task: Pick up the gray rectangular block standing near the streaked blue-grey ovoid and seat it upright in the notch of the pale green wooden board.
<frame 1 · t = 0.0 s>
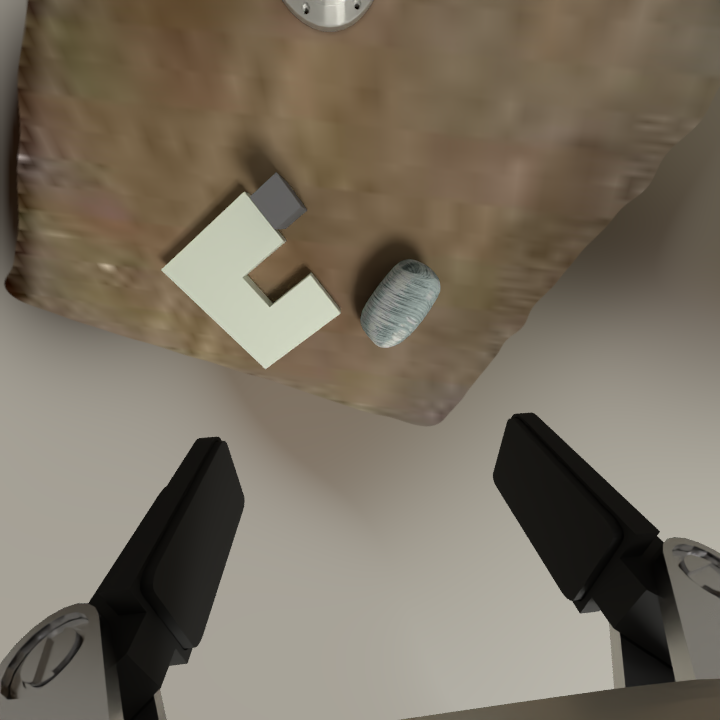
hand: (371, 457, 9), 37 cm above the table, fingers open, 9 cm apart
board: (260, 289, 42), on the table
gray rectangular block: (286, 206, 38), on the table
streaked blue-grey ovoid: (393, 298, 45), on the table
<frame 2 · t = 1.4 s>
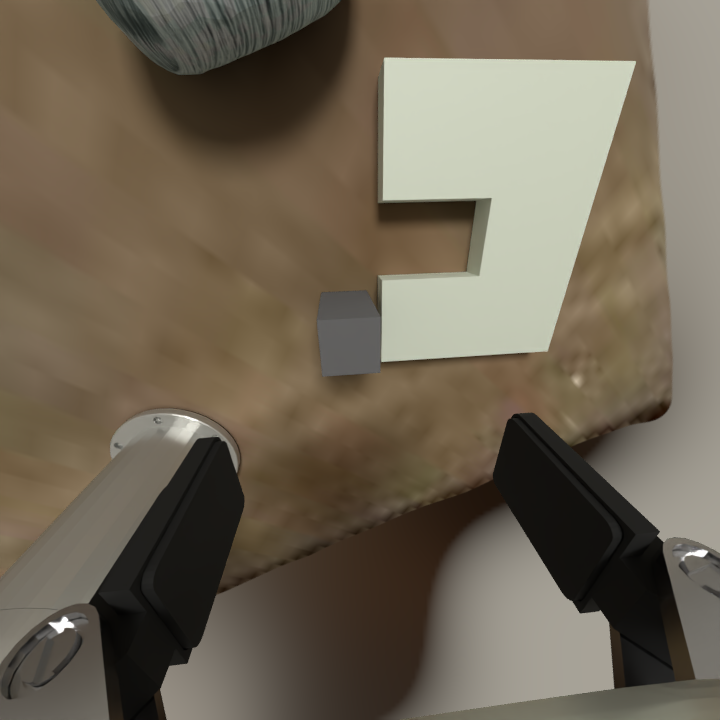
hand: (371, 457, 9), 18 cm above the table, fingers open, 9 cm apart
board: (471, 238, 23), on the table
gray rectangular block: (345, 313, 25), on the table
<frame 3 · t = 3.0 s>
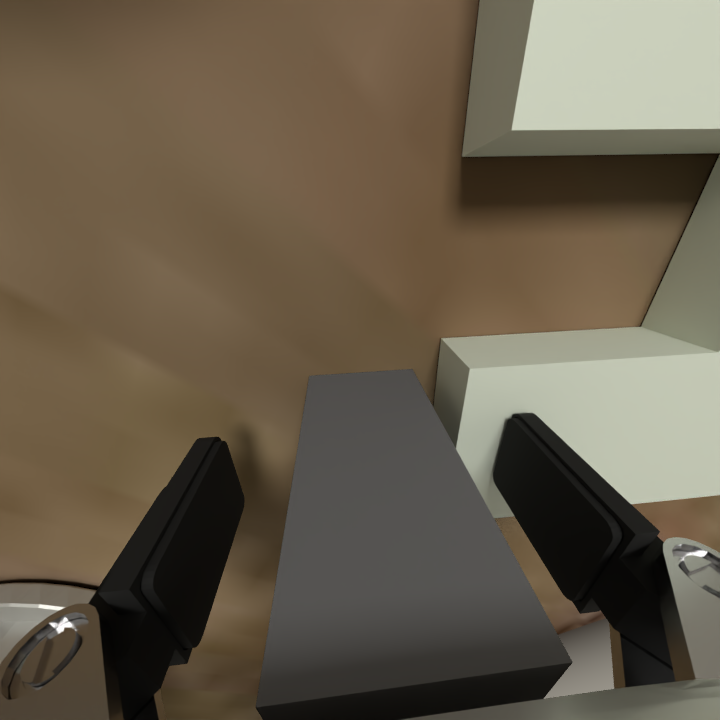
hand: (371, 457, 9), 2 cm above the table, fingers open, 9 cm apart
board: (675, 251, 9), on the table
gray rectangular block: (362, 414, 11), on the table
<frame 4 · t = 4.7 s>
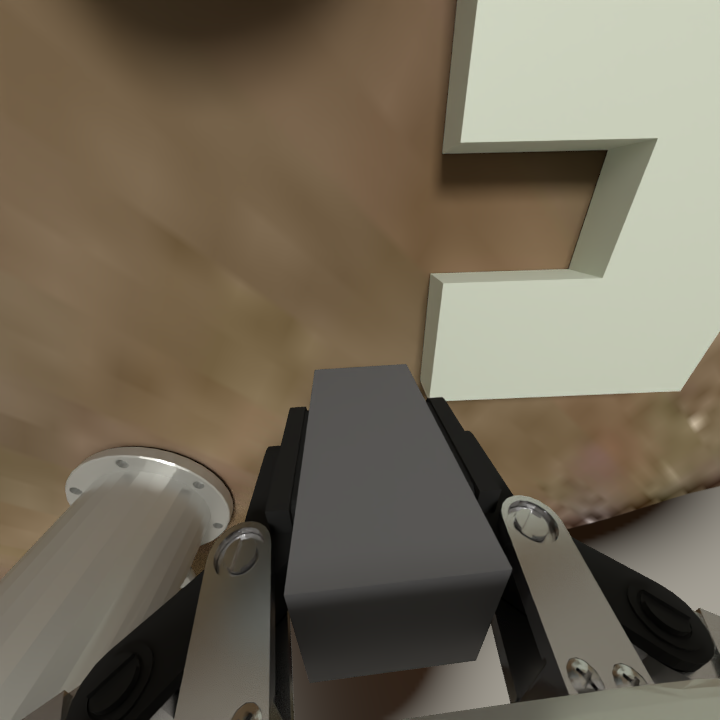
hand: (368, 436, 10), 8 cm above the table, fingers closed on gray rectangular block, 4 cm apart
board: (586, 215, 14), on the table
gray rectangular block: (362, 404, 13), point 6 cm above the table, touching gripper
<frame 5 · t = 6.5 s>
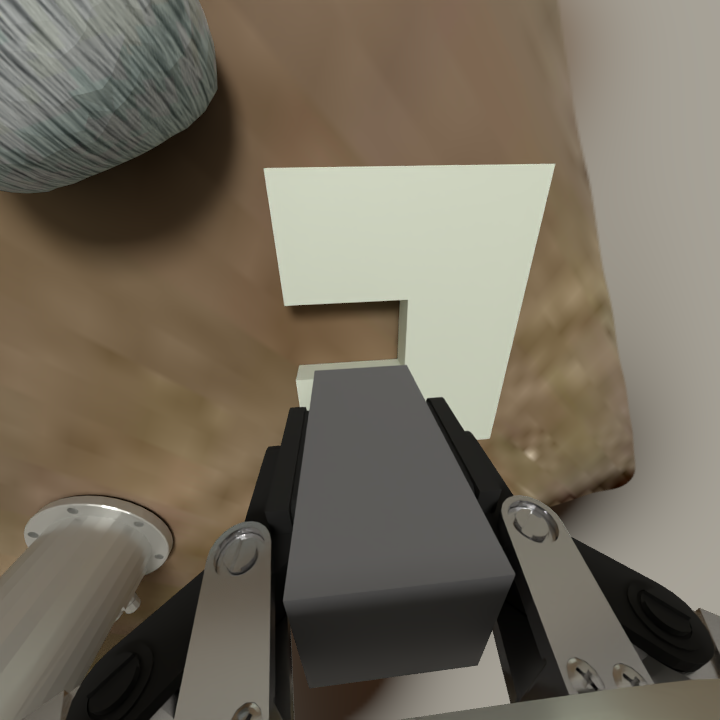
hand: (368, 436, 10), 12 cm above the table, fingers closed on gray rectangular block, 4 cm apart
board: (398, 327, 21), on the table
gray rectangular block: (362, 405, 13), point 9 cm above the table, touching gripper
streaked blue-grey ovoid: (104, 87, 14), on the table
when the fingers open (3 cm above the table, at t = 8.7 s): gray rectangular block stays where it is, on the table.
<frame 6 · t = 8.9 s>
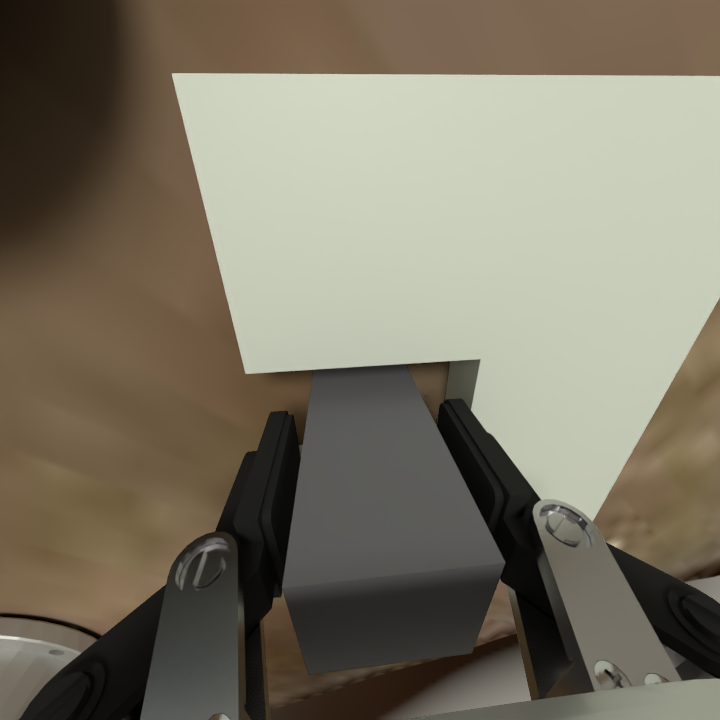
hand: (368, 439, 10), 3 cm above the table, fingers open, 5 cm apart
board: (446, 388, 13), on the table
gray rectangular block: (360, 403, 13), on the table
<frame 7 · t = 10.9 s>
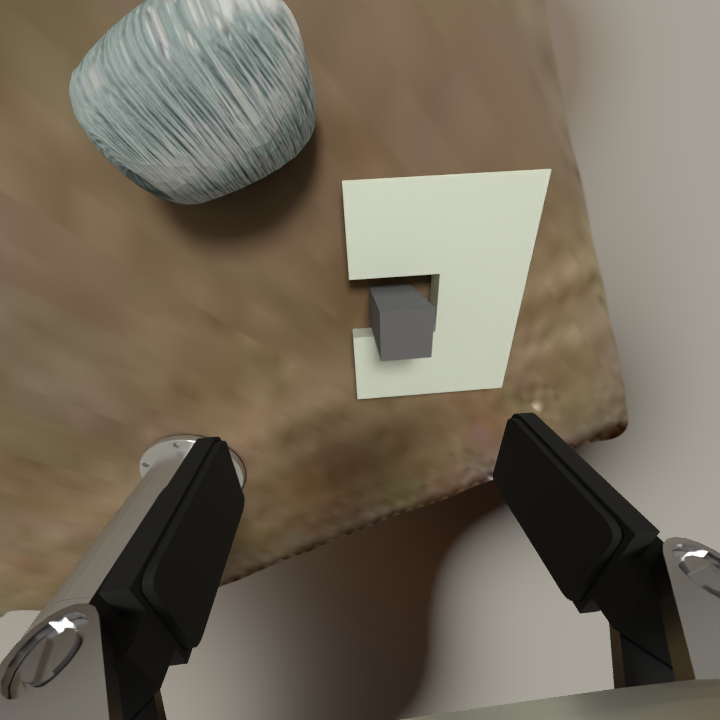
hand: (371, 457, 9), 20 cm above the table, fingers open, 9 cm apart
board: (429, 297, 27), on the table
gray rectangular block: (389, 305, 27), on the table
streaked blue-grey ovoid: (231, 127, 21), on the table
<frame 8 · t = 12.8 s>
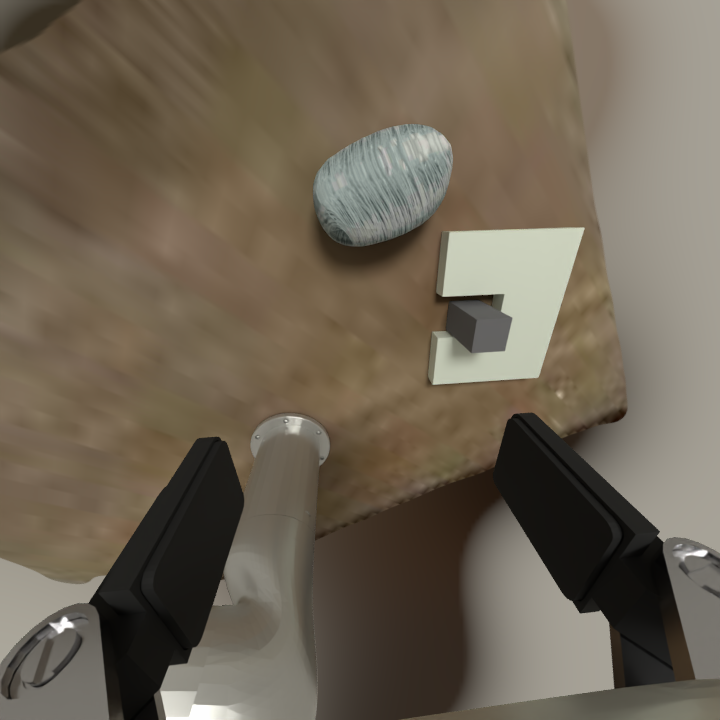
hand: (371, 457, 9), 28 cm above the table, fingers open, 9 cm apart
board: (490, 309, 38), on the table
gray rectangular block: (461, 314, 38), on the table
streaked blue-grey ovoid: (375, 194, 30), on the table
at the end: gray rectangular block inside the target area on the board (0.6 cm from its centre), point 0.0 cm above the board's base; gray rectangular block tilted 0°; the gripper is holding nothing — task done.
